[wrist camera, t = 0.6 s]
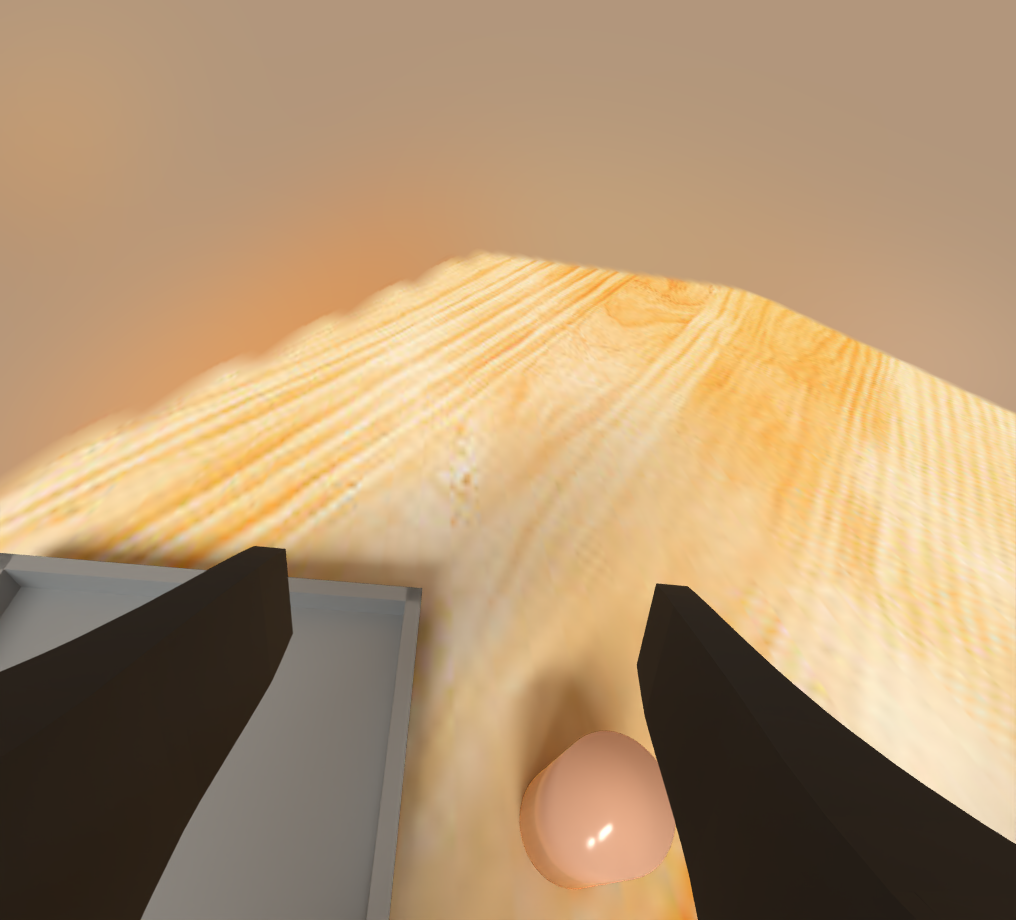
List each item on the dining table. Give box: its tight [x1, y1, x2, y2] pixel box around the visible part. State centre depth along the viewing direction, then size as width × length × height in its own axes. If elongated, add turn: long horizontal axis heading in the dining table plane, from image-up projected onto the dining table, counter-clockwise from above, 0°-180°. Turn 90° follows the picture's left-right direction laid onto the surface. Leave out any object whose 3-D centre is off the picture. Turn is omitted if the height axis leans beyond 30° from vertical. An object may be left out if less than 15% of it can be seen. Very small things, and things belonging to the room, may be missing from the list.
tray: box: [0, 553, 422, 920], centre depth 20 cm, size 20×20×2 cm
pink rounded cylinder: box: [520, 731, 675, 889], centre depth 22 cm, size 5×5×6 cm
